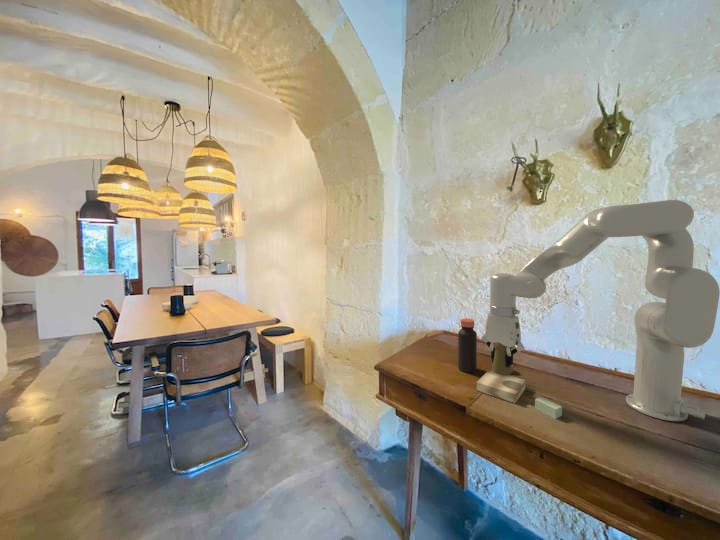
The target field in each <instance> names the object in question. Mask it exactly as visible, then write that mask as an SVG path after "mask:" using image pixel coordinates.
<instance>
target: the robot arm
mask: <svg viewBox="0 0 720 540" xmlns="http://www.w3.org/2000/svg"><path fill="white" fill-rule="evenodd" d="M694 217H695V212H694V209H693V207H692V206H691V205H690V204H689V203H687V202H685V201H683V200H679V199H665V200H659V201H658V200H657V201H651V202H650V201H649V202H642V203H641V202H640V203H631V204H621V205H619V204H618V205H609V206H606V207H600V208H596V209H594V210H591V211H590V212H588V213H587V214H586V215H585V216H583V218H581V219H580V220H579V221H578V222H577V223H576V224H575V225H574V226H573V227H572V228H570V229H569V230H568V231H567V232H565V234H563V235H562V237H560V238H559V239H558V240H556V242H554V243H553V244H552V245H551V246H549V247H547V248H546V249H544V251H542V252H541V253H540V254H538V255H537V256H535V257H534V258H533V259H531V261H529V262H528V263H527V264H525V266H524V267H523V268H521V270H519V271H518V272H517V273H516V274H515V275H514V274H510V273H495V274H494V273H493V274H491V277H490V283H489V285H490V291H489V293H490V294H489V295H490V297H489V298H490V299H489V303H490V304H489V305H490V306H489V313H488V314H487V317H486V323H485V333H484V335H483V336H481V340H482V341H483V342H484V343H485V344H486V345H487V347H488V348H489V351H490V359H491V363H492V364H493V360H494V353H495V348H494V345H493V343H496V342H499V343H501V344H502V345H504V346H506V350H507V355H506V356H505V363H506V367H507V368H508V367H509V366H511V365H514V355H515V354H517V353H519V352H522V351H524V350H525V348H526V347H525V346H524V345H523V343H522V335H521V331H522V330H521V324H520V319H519V316H518V315H520V312H521V311H520V309H517V306H516V302H517V301H516V300H517V299H516V298H517V297H518V298H524V299H525V298H526V299H538V298H540V297H542V296H543V295H544V294H545V293H546V291H547V290H546V289H547V284H546V281H545V280H546V279H547V278H548V277H550V276H552V274H554V273H556V272H558V271H559V270H563V269H565V268H568V267H571V266H573V265H575V264H578V263H580V262H581V261H582V260H584V259H585V258H586V257H587V256H588V255H589V254H591V253H593V251H595V249H597V248H598V247H599V246H601V244H602V243H604V242H605V241H606V240H607V239H609V238H624V237H625V238H628V237H630V238H631V237H640V236H641V237H642V238H643V239H644V240H645V242H646V244H647V247H648V248H647V249H648V256H647V257H648V258H647V266H646V275H645V280H644V288H645V289H646V291H647V293H649V294H651V295H652V296H654V297H656V298H660V299H662V300H665V302H662V301H650V302H647V303H645V304H642V305H641V306H640V307H639V308H637V310H636V312H635V315H634V327H635V334H636V352H635V366H634V380H633V381H634V382H633V393H631V394H627V396H626V397H625V401H626V403H627V404H628V405H629V407H631V408H632V409H634V410H636V411H638V412H639V413H642V414H644V415H647V416H649V417H651V418H656V419H659V420H663V421H669V422H684V421H686V420H688V417H689V416H693V417H695V418H698V419H701V420H705V417H706V412H705V411H703V410H700V408H699V407H698V406H694V405H691V404H687V402H684V397H682V388H683V387H682V385H683V377H684V376H683V374H684V363H685V349H686V348H687V349H691V348H692V349H693V348H698V347H700V346H702V345H704V344H706V343H707V342H708V341H709V340H710V339H711V338H712V335H713V332H714V329H715V324H716V320H717V319H716V318H717V313H718V308H719V300H720V286H719V283H718V281H717V279H716V278H715V277H714V276H713V275H712V274H710V273H709V272H707V271H705V270H703V269H700V268H695V267H694V266H693V265H694V252H695V245H694V240H693V238H692V236H691V234H690V232H689V231H688V229H687V227H689V226H690V225H691V224H692V222H693V221H694V220H693V219H694ZM516 346H517V347H516Z"/></svg>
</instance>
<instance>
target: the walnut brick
mask: <svg viewBox="0 0 720 540" xmlns="http://www.w3.org/2000/svg"><path fill="white" fill-rule="evenodd" d="M514 368H515V367H514V364H512V365H511V374H515V373H514V370H515V369H514Z"/></svg>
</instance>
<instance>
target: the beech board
mask: <svg viewBox="0 0 720 540" xmlns="http://www.w3.org/2000/svg"><path fill="white" fill-rule="evenodd" d="M525 389H526V379H523V378H520V377H516V376H513V375H511V374H510V375H499V374H496V373H494V372H493V371H492V369H491V370H490V369H488V370H487V371H486V372H485V373H484V374H483V375H482V376H481V377H479V379H478V380H477V381H476V392H479V393H482V394H485V393H486V394H485V395H488V394H489V395H488V396H491V395H492V396H491V397H494V396H495V397H494V398H497V397H498V398H497V399H501V400H504V401H507V402H510V403H512V402H513V403H512V404H516V403H517V402H518V400H519V398H520V397H521V396H522V394H523V392H524V391H525Z"/></svg>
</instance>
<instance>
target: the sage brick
mask: <svg viewBox="0 0 720 540" xmlns="http://www.w3.org/2000/svg"><path fill="white" fill-rule="evenodd" d="M534 409H536V410H538V411H540V412H542V413H544V414H545V415H547V416H549V417H551V418H552V419H554V420H556V419H558V418H560V417H562V416H563V406H561V405H559V404H558V403H555V402H553V401H552V400H550V399H547V398H545V397H543V396H540V397H537V398H535V399H534Z"/></svg>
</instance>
